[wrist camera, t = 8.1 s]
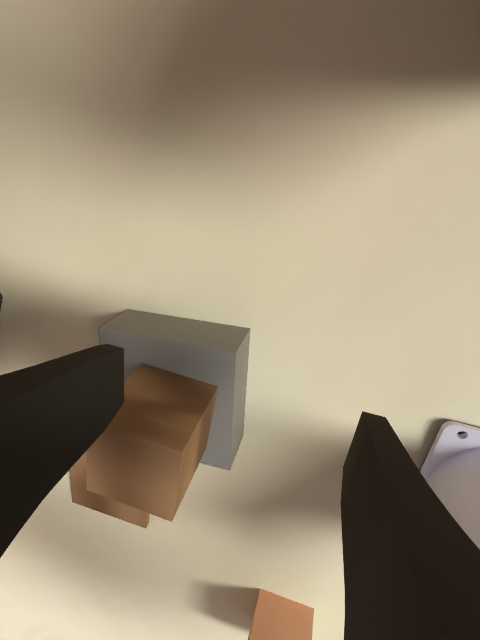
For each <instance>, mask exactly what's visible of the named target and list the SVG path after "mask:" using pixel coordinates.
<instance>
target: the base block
mask: <svg viewBox="0 0 480 640" xmlns="http://www.w3.org/2000/svg"><path fill="white" fill-rule="evenodd" d="M98 332H99V341H100V345H103V344H110V345H114V346H117V347H121V348H124V381H125V380H126V379H127V378H128V377H129V376H130V375H131V374H132V373H133V372H134V371H135V370H136V369H137V368H138V367H139V366H140V365H141V363H144V364H147V365H150V366H153V367H157V368H160V369H163V370H166V371H169V372H173V373H176V374H179V375H182V376H186V377H189V378H192V379H195V380H199V381H202V382H205V383H208V384H212V385H215V386H218V389H217V395H216V400H215V405H214V410H213V416H212V421H211V426H210V431H209V437H208V442H207V447H206V450H205V452H204V454H203V456H202V458H201V460H200V462H199V463H202V464H207V465H211V466H215V467H219V468H223V469H227V470H230V469H231V466H232V463H233V461H234V458H235V456H236V453H237V450H238V448H239V445H240V442H241V440H242V437H243V428H244V414H245V399H246V384H247V370H248V355H249V340H250V328H244V327H238V326H231V325H225V324H218V323H212V322H206V321H199V320H193V319H186V318H180V317H174V316H167V315H161V314H155V313H148V312H142V311H135V310H129V309H128V310H126V311H125V312H123V313H121V314H120V315H118V316H117V317H115V318H114V319H112V320H111V321H109V322H108V323H106V324H105V325H103V326H102V327H100V328H98Z"/></svg>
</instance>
